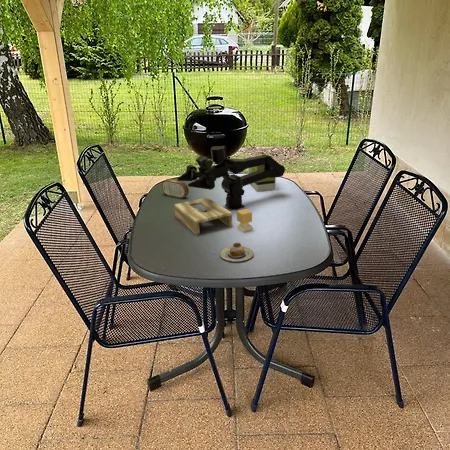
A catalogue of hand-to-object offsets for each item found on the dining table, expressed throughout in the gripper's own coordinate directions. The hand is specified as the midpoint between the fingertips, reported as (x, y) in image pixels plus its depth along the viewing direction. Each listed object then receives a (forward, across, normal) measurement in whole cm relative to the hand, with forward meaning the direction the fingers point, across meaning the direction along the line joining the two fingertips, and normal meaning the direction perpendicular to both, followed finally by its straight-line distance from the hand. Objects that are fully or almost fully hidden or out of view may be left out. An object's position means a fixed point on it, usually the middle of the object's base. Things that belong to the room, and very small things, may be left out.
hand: (182, 182), depth 180 cm
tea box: (-51, -14, +22) cm, 57 cm away
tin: (-8, -29, +19) cm, 35 cm away
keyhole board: (-3, +7, +17) cm, 19 cm away
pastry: (+2, +41, +16) cm, 44 cm away
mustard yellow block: (-13, +24, +18) cm, 32 cm away
